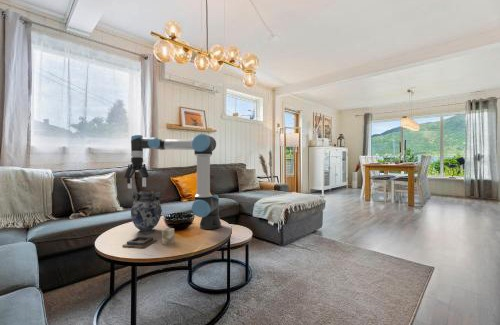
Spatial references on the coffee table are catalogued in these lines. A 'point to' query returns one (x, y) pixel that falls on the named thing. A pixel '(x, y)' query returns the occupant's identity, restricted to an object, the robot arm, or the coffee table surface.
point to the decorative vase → (146, 210)
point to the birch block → (168, 236)
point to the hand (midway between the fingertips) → (137, 187)
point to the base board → (140, 242)
